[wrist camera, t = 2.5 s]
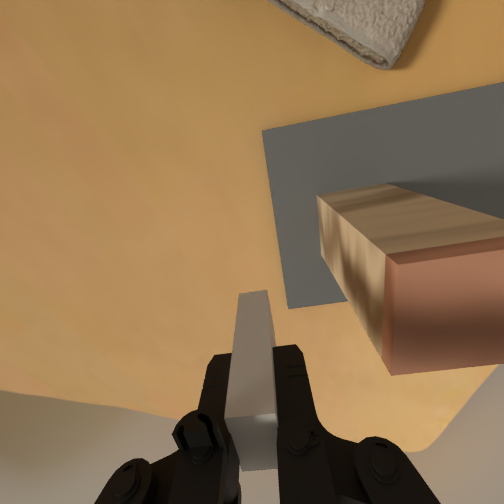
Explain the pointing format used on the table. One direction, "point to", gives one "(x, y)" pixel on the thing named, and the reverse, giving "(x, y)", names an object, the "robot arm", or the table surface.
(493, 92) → the rubber mat
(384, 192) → the maple block
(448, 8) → the table surface
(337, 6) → the washcloth
